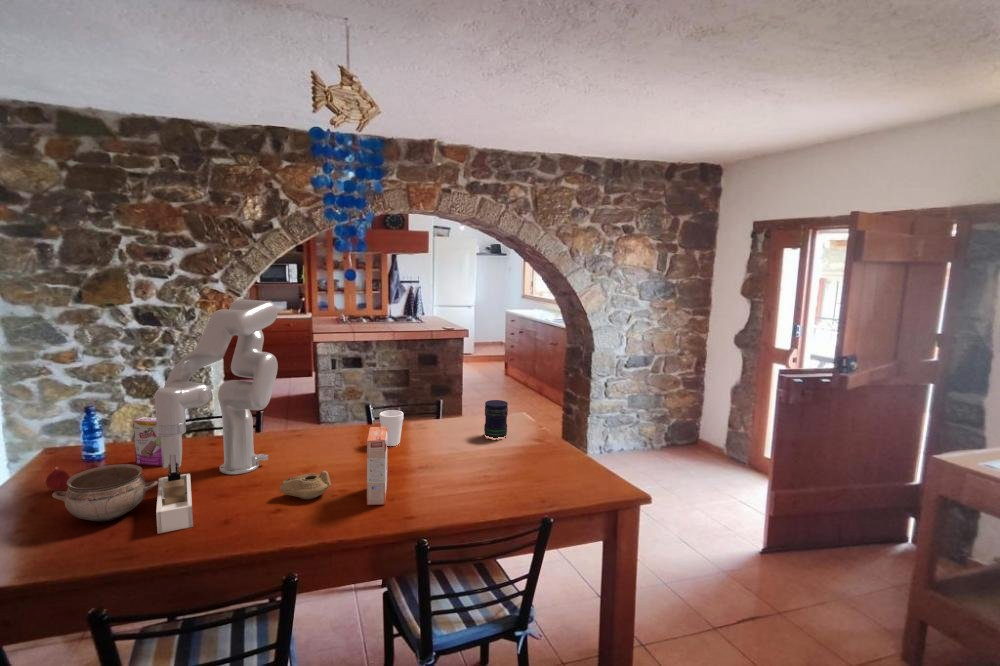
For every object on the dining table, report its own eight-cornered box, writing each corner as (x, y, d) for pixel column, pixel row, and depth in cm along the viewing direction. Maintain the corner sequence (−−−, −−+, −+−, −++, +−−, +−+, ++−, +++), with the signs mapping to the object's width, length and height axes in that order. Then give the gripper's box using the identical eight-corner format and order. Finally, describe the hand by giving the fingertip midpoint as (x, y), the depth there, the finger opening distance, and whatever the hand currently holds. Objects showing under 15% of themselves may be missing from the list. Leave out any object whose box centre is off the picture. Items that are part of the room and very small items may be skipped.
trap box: (191, 491, 174) (190, 473, 173) (193, 526, 152) (192, 506, 151) (160, 496, 170) (158, 478, 169) (157, 533, 147) (156, 512, 147)
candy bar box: (134, 465, 194) (131, 420, 192) (145, 459, 199) (142, 416, 196) (164, 467, 193) (161, 422, 190) (174, 461, 198) (171, 417, 195)
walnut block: (184, 494, 164) (183, 479, 164) (185, 501, 160) (184, 485, 159) (165, 498, 162) (164, 482, 161) (165, 504, 158) (164, 488, 157)
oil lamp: (279, 493, 174) (278, 469, 173) (327, 485, 181) (327, 462, 180) (282, 507, 164) (281, 482, 163) (333, 499, 171) (333, 474, 170)
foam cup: (400, 448, 217) (400, 417, 215) (377, 448, 217) (377, 416, 215) (405, 440, 226) (405, 410, 225) (382, 440, 226) (382, 409, 225)
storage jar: (481, 439, 231) (482, 405, 229) (486, 432, 240) (487, 399, 238) (505, 441, 229) (506, 406, 227) (508, 434, 239) (509, 400, 237)
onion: (75, 489, 173) (73, 465, 172) (55, 496, 168) (53, 471, 166) (62, 486, 175) (60, 462, 174) (42, 493, 169) (40, 469, 168)
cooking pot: (41, 539, 143) (37, 495, 141) (67, 508, 160) (63, 468, 159) (152, 524, 152) (150, 482, 151) (165, 496, 170) (163, 459, 168)
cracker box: (386, 505, 168) (386, 439, 165) (366, 506, 167) (365, 440, 164) (388, 486, 181) (388, 425, 179) (369, 487, 180) (369, 426, 178)
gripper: (157, 423, 169) (161, 479, 172) (155, 437, 156) (159, 498, 159) (185, 420, 173) (188, 475, 175) (186, 433, 160) (189, 493, 163)
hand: (174, 486), depth 167 cm, fingers closed
